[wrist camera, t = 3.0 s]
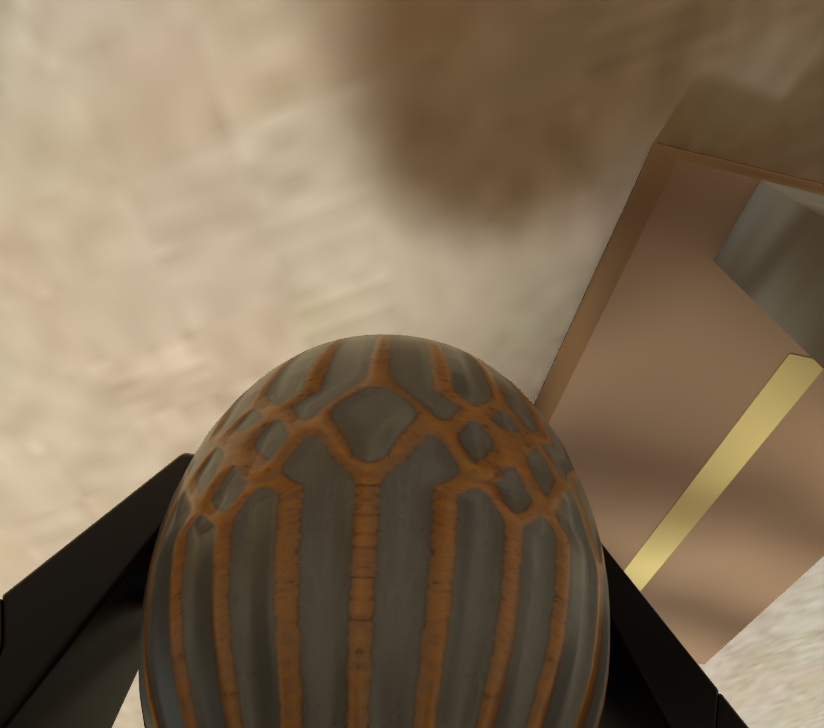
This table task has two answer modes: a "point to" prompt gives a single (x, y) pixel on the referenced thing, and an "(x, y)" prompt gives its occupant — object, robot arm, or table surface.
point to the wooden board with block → (702, 391)
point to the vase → (377, 556)
